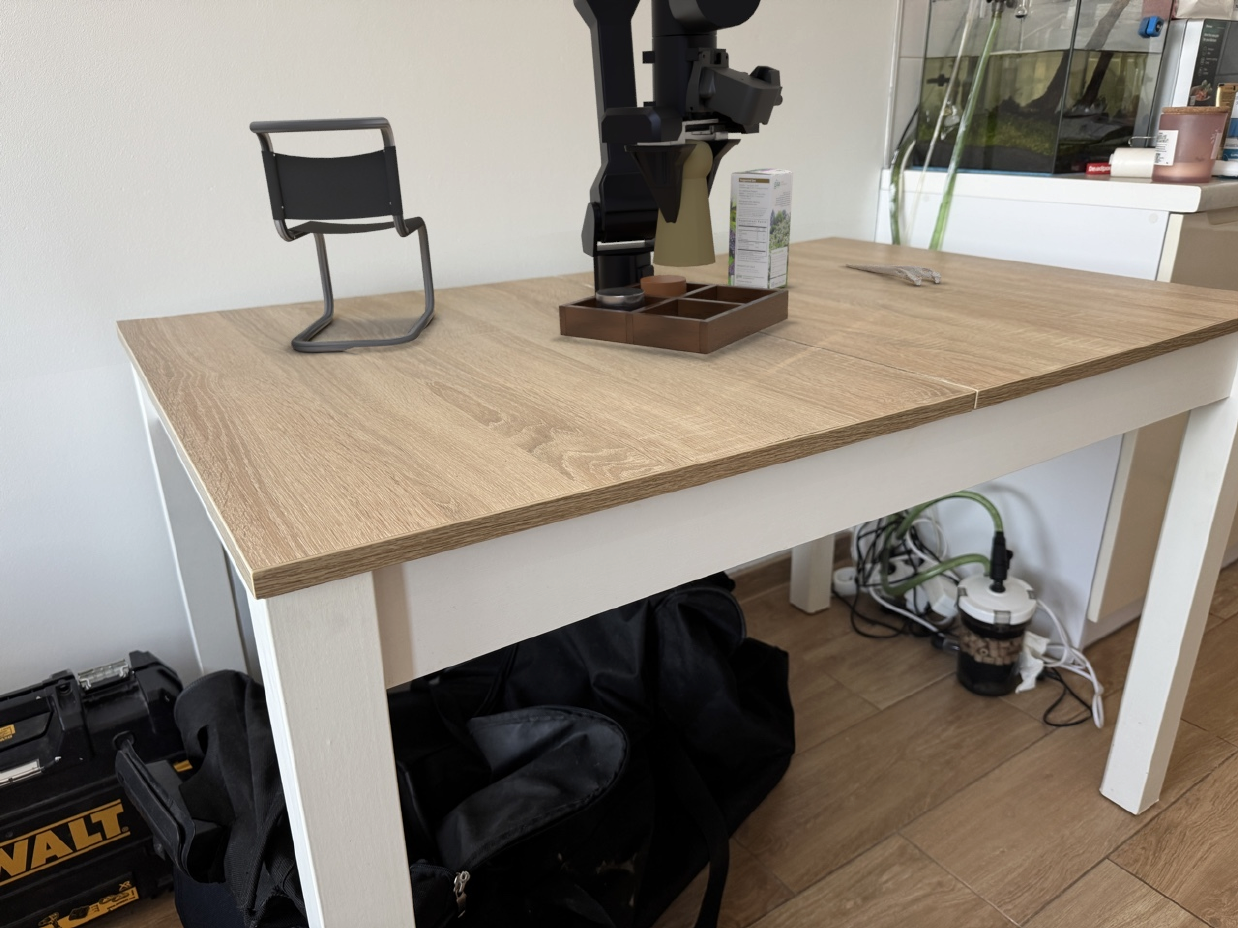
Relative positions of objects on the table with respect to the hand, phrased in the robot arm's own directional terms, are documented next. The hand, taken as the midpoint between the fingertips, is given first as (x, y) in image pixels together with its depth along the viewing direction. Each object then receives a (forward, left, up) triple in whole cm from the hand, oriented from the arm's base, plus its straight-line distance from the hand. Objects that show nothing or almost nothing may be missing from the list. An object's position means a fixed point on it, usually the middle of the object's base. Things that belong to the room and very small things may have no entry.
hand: (684, 220), depth 86 cm
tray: (-4, +5, -12) cm, 14 cm away
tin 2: (-8, +9, -12) cm, 17 cm away
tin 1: (-8, +1, -12) cm, 14 cm away
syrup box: (-7, +30, -12) cm, 33 cm away
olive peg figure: (0, 0, -4) cm, 4 cm away
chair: (-34, -11, -12) cm, 38 cm away
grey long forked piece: (+4, +46, -12) cm, 48 cm away
